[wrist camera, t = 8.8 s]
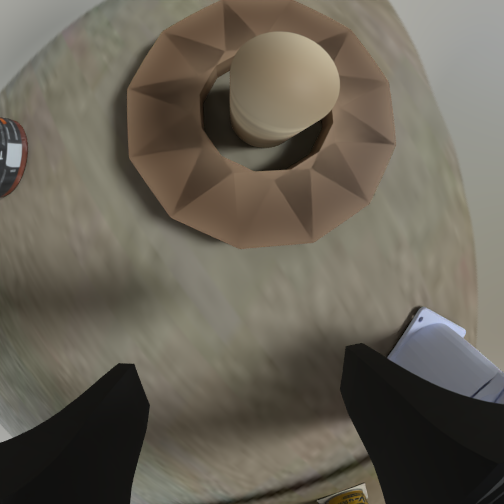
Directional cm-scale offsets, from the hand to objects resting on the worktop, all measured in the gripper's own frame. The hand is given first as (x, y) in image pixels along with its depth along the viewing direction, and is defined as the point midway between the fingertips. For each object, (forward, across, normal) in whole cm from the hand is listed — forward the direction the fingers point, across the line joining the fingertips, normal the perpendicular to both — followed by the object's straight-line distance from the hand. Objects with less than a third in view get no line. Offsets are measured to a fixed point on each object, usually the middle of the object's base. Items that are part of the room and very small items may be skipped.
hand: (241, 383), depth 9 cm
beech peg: (+9, -2, -10) cm, 14 cm away
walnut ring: (+9, -2, -10) cm, 14 cm away
